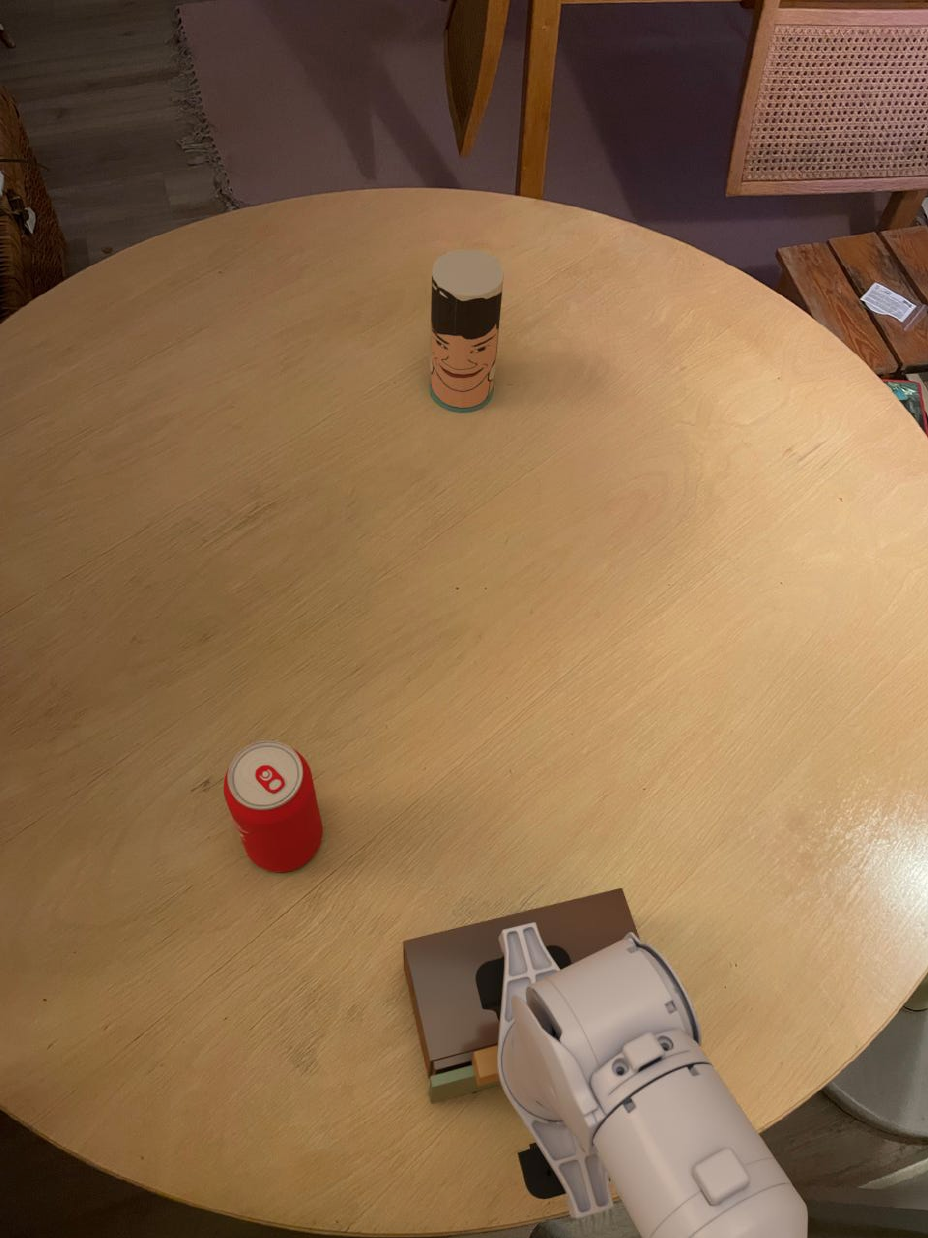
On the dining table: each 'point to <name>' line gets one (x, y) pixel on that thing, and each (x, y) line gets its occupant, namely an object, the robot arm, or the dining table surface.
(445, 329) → the tan and black cylinder
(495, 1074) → the green drawer
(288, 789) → the beverage can
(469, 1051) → the cabinet
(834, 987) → the dining table surface
